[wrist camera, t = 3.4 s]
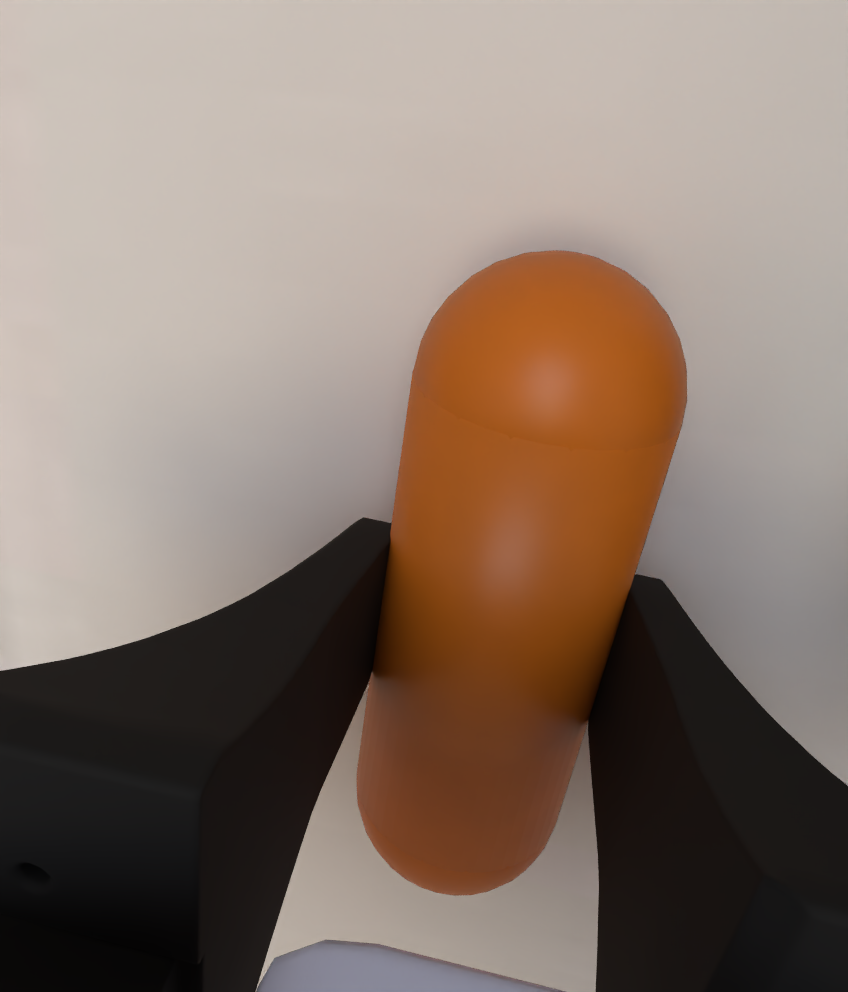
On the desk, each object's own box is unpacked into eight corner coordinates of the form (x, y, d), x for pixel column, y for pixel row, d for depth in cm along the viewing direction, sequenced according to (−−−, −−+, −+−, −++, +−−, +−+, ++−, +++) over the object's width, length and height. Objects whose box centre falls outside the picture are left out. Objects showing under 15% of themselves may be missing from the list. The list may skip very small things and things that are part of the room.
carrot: (541, 797, 16) (533, 965, 13) (371, 757, 17) (323, 913, 14) (703, 254, 11) (752, 317, 8) (453, 210, 12) (406, 256, 8)
